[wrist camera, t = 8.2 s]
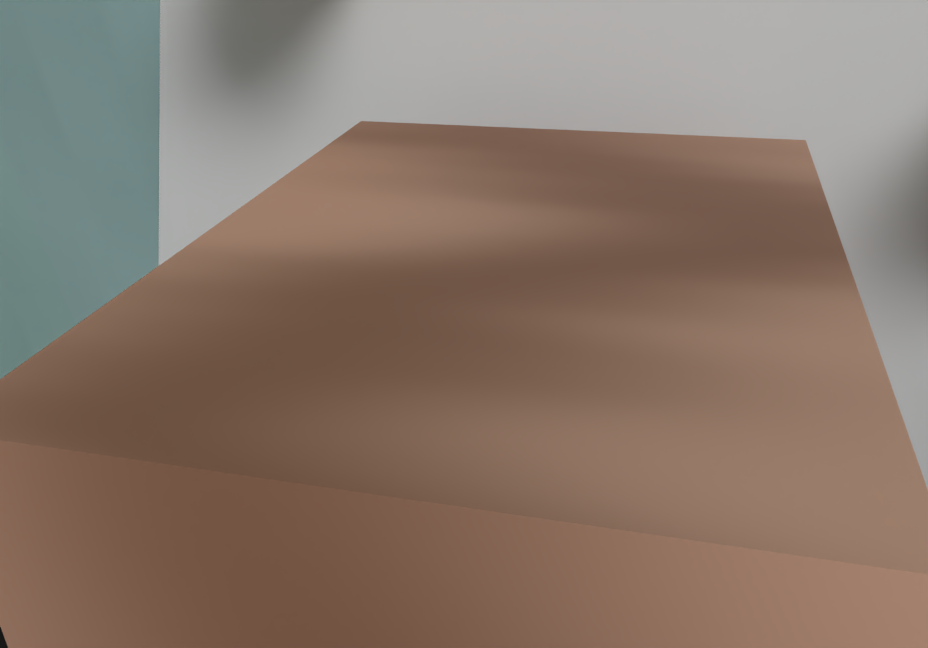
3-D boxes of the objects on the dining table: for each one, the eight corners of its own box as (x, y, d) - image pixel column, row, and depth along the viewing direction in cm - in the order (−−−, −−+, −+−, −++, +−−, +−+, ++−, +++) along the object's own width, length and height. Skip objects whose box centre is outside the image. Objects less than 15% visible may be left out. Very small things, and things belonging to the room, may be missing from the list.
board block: (805, 139, 8) (960, 577, 3) (722, 662, 12) (731, 1306, 6) (361, 121, 9) (-69, 430, 4) (397, 606, 13) (177, 1119, 7)
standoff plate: (1381, -101, 8) (1901, -79, 5) (822, 779, 15) (856, 1062, 12) (220, -325, 10) (-67, -439, 6) (190, 566, 17) (47, 758, 13)
